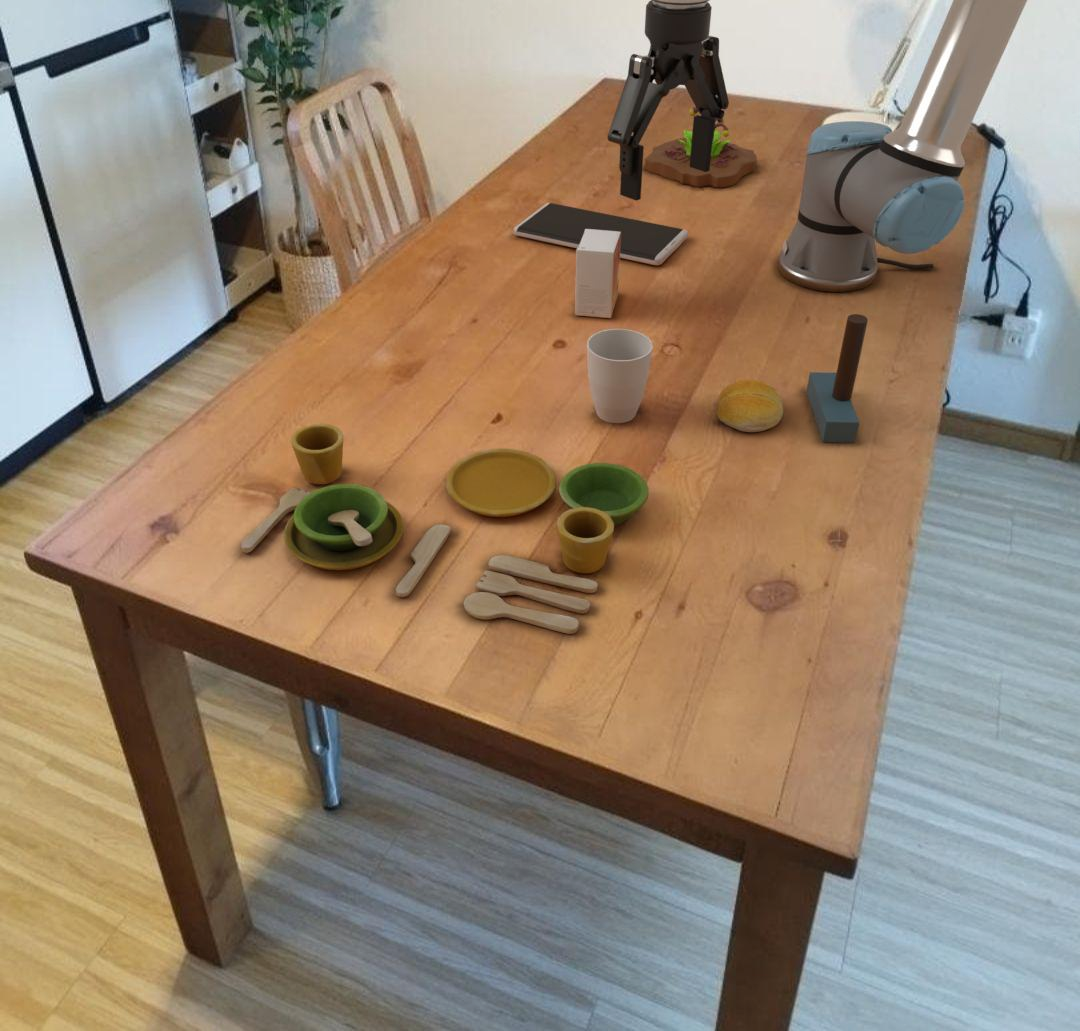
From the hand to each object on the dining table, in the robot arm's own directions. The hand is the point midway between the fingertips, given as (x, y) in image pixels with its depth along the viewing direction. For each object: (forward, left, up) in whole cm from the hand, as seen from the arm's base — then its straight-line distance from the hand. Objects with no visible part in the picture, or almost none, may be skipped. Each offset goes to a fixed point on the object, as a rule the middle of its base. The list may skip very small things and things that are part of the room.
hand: (665, 182), depth 136 cm
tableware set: (+25, +39, -25) cm, 52 cm away
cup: (+6, +16, -25) cm, 30 cm away
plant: (-13, -73, -25) cm, 78 cm away
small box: (+8, -14, -25) cm, 29 cm away
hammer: (-23, +16, -24) cm, 37 cm away
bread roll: (-11, +16, -25) cm, 31 cm away
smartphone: (+7, -39, -25) cm, 47 cm away
